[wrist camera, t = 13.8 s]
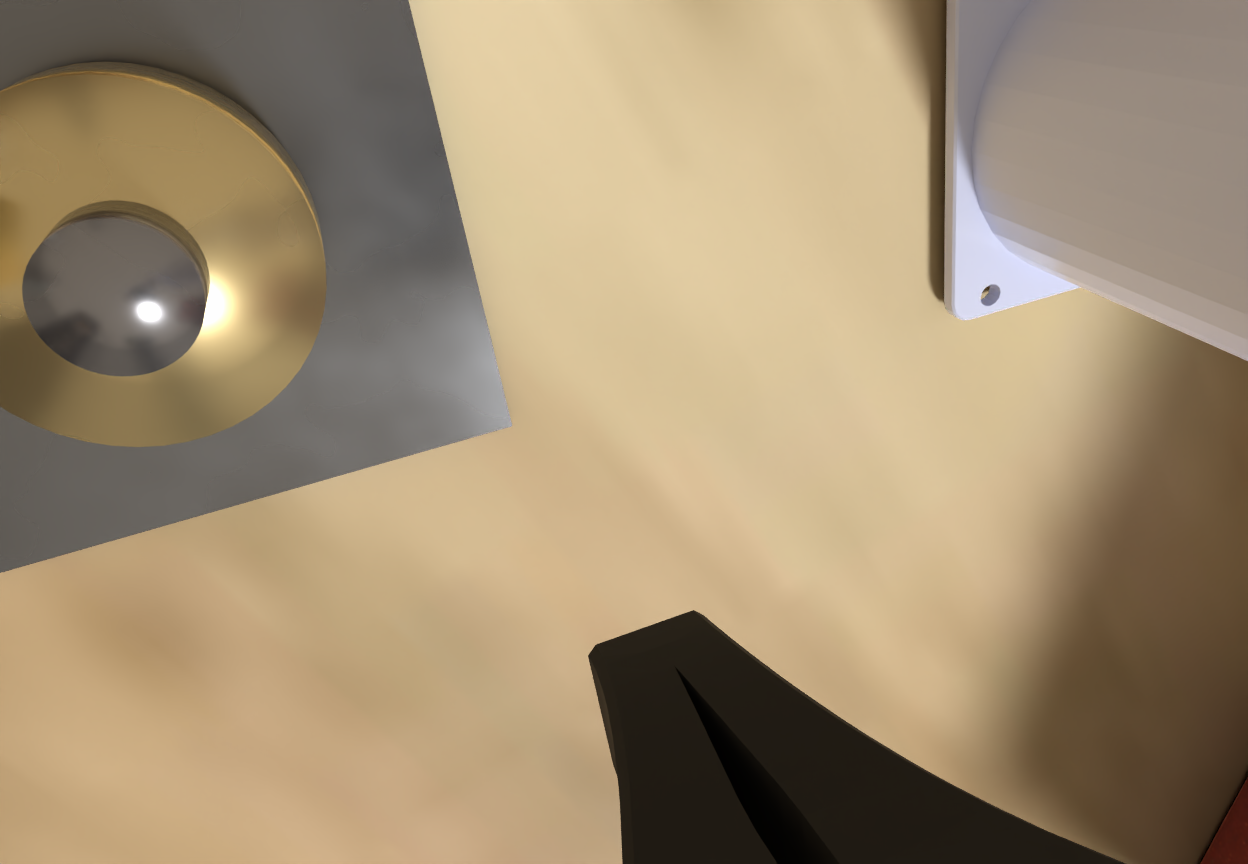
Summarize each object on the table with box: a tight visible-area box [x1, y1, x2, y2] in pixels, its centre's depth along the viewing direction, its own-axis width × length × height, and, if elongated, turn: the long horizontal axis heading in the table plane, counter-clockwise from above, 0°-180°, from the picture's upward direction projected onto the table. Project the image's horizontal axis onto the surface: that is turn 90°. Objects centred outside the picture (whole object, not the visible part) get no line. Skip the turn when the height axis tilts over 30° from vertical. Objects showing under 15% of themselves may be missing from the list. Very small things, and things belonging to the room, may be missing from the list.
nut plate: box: [0, 0, 512, 573], centre depth 17 cm, size 11×11×1 cm
